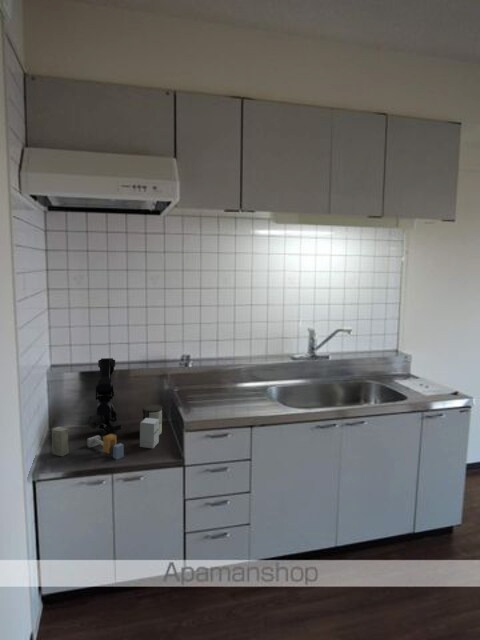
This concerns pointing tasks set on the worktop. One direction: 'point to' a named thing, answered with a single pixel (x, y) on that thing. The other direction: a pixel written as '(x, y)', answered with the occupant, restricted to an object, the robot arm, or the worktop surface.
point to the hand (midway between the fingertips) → (105, 439)
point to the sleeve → (109, 442)
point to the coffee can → (153, 413)
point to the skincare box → (60, 441)
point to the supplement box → (149, 432)
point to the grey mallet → (115, 449)
